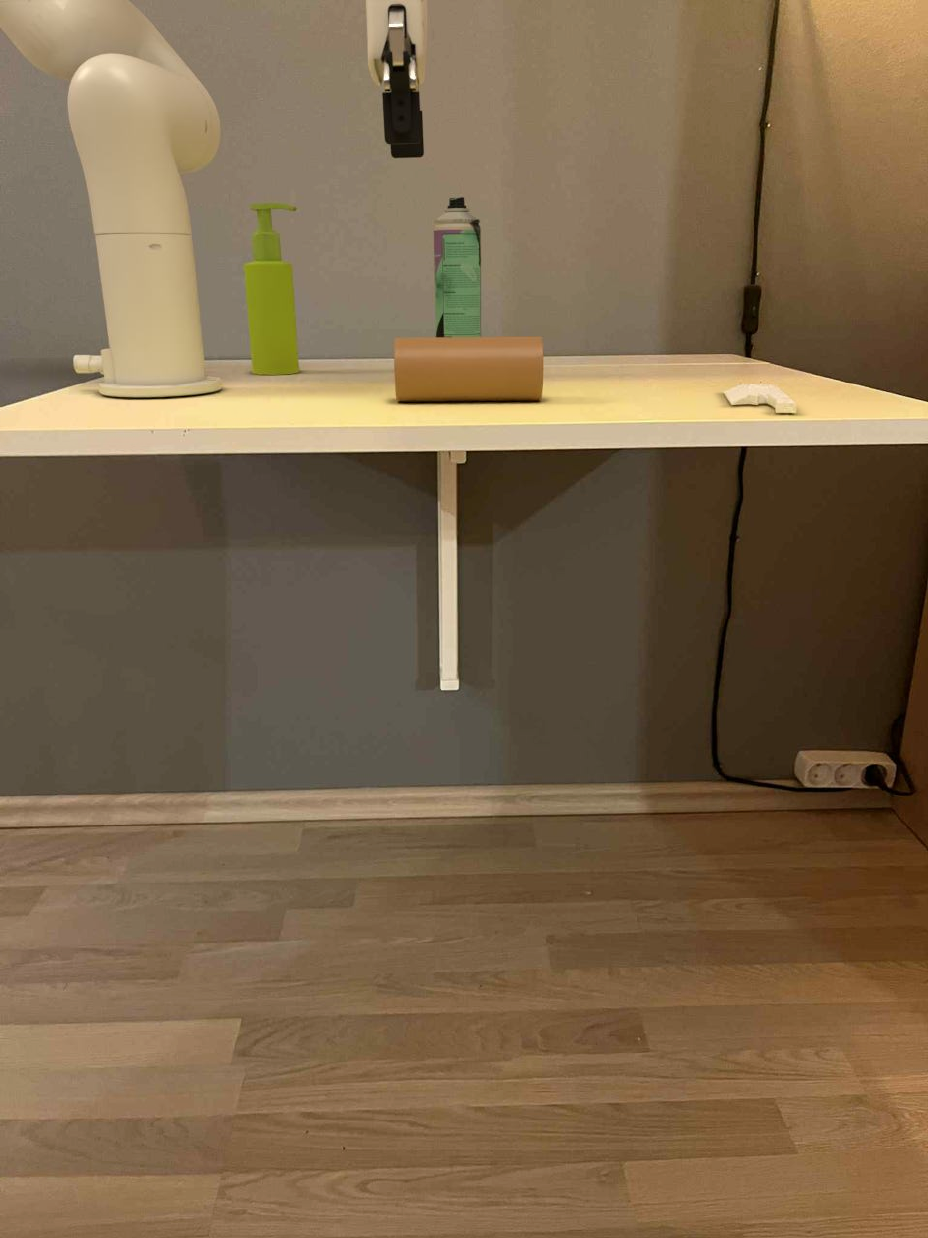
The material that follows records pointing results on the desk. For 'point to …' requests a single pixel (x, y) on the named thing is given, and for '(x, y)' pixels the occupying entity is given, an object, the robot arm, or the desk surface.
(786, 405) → the white curved arc piece
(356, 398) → the desk surface
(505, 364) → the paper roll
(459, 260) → the spray can
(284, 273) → the soap dispenser
